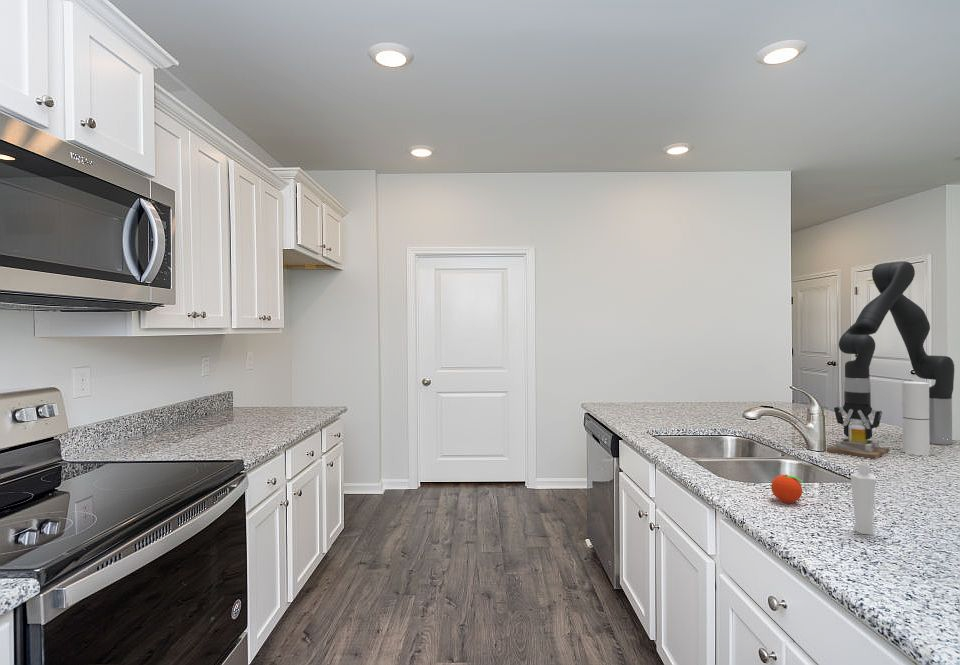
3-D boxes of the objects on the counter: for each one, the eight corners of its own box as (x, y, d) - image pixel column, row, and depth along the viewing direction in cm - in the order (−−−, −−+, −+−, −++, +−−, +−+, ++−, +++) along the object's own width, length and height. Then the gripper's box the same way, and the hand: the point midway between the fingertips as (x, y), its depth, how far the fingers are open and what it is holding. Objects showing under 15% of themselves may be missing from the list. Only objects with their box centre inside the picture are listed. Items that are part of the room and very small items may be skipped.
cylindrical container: (898, 452, 178) (897, 382, 177) (909, 450, 181) (908, 381, 180) (922, 457, 171) (922, 384, 171) (933, 454, 174) (933, 382, 174)
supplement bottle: (871, 447, 176) (871, 420, 176) (855, 447, 176) (855, 420, 176) (859, 444, 181) (859, 417, 181) (844, 444, 181) (844, 417, 181)
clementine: (807, 501, 130) (807, 474, 130) (807, 509, 125) (806, 480, 125) (772, 495, 135) (772, 469, 135) (770, 503, 129) (769, 475, 129)
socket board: (842, 445, 189) (842, 435, 189) (888, 452, 177) (888, 441, 177) (826, 452, 180) (826, 440, 180) (874, 459, 169) (874, 448, 169)
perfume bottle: (851, 525, 114) (851, 459, 114) (876, 530, 112) (875, 463, 111) (850, 531, 111) (849, 464, 111) (875, 536, 108) (875, 467, 108)
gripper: (885, 391, 175) (886, 439, 175) (837, 387, 186) (838, 433, 187) (878, 393, 170) (879, 442, 171) (829, 389, 182) (830, 435, 182)
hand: (857, 437), depth 179 cm, fingers closed on supplement bottle, 5 cm apart
